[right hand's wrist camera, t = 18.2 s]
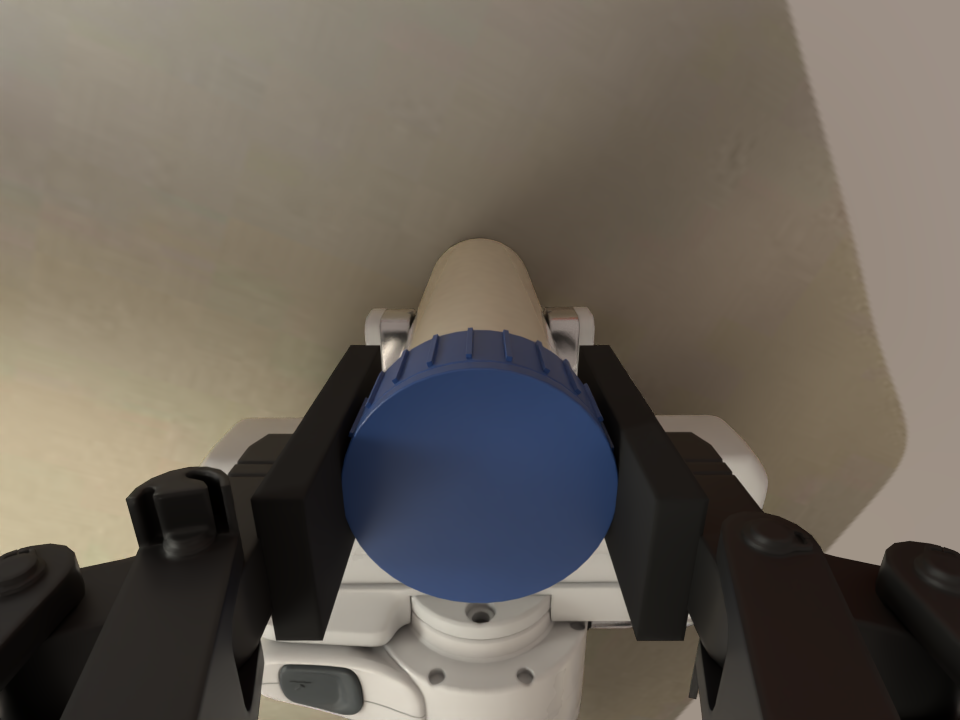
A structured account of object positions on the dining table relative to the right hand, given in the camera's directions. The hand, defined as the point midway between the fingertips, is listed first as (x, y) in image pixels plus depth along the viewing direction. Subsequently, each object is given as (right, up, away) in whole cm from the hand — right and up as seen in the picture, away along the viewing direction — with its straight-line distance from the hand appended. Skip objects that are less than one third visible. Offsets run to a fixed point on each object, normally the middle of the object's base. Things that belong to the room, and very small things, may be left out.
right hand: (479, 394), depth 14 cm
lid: (0, -2, -4) cm, 4 cm away
